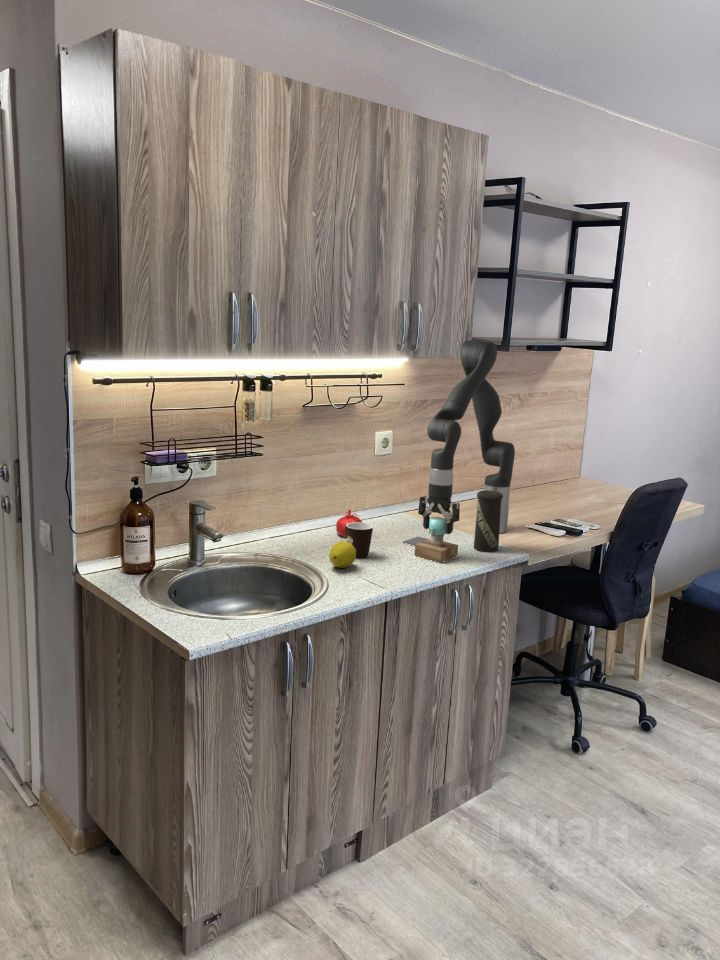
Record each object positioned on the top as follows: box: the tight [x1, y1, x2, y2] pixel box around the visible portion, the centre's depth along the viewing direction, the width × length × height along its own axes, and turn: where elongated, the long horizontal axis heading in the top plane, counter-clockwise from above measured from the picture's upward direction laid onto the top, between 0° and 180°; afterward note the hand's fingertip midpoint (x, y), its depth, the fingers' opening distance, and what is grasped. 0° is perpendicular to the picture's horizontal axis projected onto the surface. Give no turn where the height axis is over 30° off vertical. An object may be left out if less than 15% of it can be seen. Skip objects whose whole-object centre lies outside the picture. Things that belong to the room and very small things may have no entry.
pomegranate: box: [335, 509, 364, 539], centre depth 274 cm, size 10×10×9 cm
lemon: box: [328, 540, 356, 569], centre depth 239 cm, size 11×8×8 cm
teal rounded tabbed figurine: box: [428, 516, 448, 536], centre depth 253 cm, size 8×6×4 cm
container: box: [473, 489, 503, 553], centre depth 265 cm, size 9×9×20 cm
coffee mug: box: [345, 521, 374, 560], centre depth 253 cm, size 12×9×10 cm
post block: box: [414, 534, 459, 564], centre depth 255 cm, size 10×10×8 cm
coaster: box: [402, 536, 431, 547], centre depth 270 cm, size 9×9×1 cm
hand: (437, 531), depth 254 cm, fingers open, 8 cm apart
